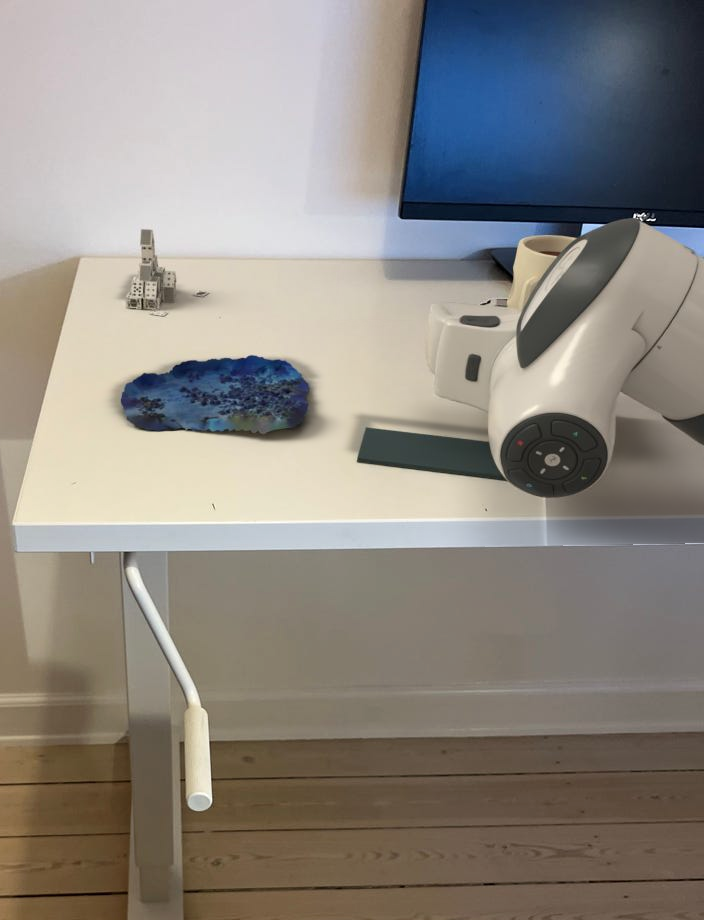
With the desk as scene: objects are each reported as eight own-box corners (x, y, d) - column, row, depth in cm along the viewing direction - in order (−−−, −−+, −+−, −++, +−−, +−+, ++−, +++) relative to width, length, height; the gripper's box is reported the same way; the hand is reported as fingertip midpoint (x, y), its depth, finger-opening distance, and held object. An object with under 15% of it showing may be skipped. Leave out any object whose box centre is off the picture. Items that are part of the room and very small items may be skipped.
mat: (527, 450, 86) (528, 446, 85) (527, 483, 81) (528, 478, 81) (365, 431, 88) (365, 427, 88) (356, 462, 83) (357, 457, 83)
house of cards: (199, 318, 109) (199, 246, 105) (121, 314, 110) (118, 242, 105) (209, 291, 116) (210, 222, 112) (136, 287, 117) (134, 219, 112)
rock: (307, 439, 86) (308, 418, 85) (113, 432, 87) (111, 411, 86) (310, 375, 98) (311, 356, 97) (138, 369, 99) (137, 350, 98)
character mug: (521, 362, 98) (550, 225, 90) (589, 382, 95) (625, 241, 87) (467, 396, 92) (492, 251, 84) (538, 418, 88) (571, 269, 80)
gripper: (697, 344, 75) (675, 286, 86) (425, 319, 79) (437, 266, 90) (673, 421, 79) (655, 357, 90) (415, 394, 83) (427, 335, 93)
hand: (544, 311), depth 90 cm, fingers closed on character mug, 7 cm apart
